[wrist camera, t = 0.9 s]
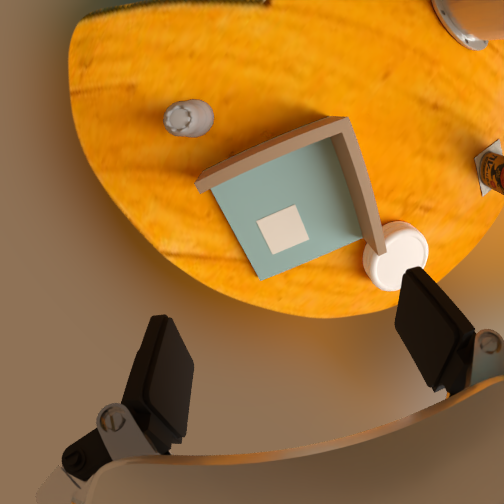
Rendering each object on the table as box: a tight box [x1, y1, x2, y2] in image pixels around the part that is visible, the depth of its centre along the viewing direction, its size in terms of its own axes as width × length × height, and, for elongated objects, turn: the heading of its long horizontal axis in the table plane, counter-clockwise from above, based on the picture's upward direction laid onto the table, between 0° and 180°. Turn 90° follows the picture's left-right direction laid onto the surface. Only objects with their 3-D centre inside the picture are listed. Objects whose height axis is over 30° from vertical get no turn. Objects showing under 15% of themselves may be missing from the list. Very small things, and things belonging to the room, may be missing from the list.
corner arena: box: [194, 116, 387, 281], centre depth 30 cm, size 16×16×6 cm
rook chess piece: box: [163, 99, 214, 137], centre depth 24 cm, size 4×4×8 cm
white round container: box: [363, 221, 428, 291], centre depth 35 cm, size 10×10×4 cm
